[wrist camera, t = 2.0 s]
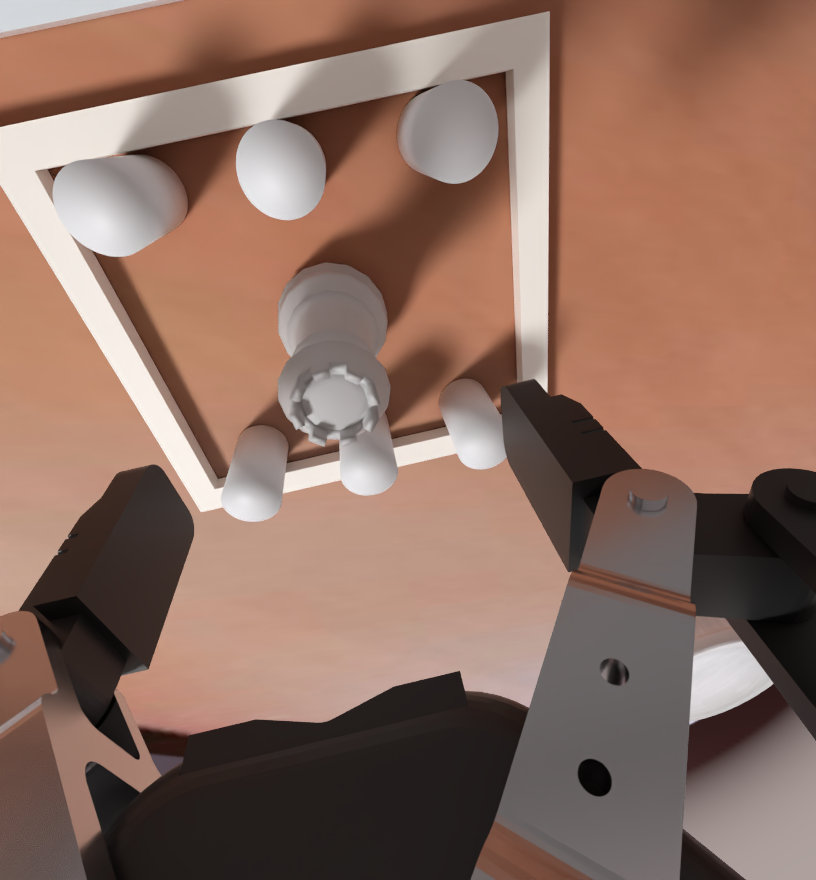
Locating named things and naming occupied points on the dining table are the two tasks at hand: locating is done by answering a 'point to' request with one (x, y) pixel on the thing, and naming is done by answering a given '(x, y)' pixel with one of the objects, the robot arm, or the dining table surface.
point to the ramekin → (722, 669)
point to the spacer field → (291, 197)
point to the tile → (61, 12)
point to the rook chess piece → (333, 353)
